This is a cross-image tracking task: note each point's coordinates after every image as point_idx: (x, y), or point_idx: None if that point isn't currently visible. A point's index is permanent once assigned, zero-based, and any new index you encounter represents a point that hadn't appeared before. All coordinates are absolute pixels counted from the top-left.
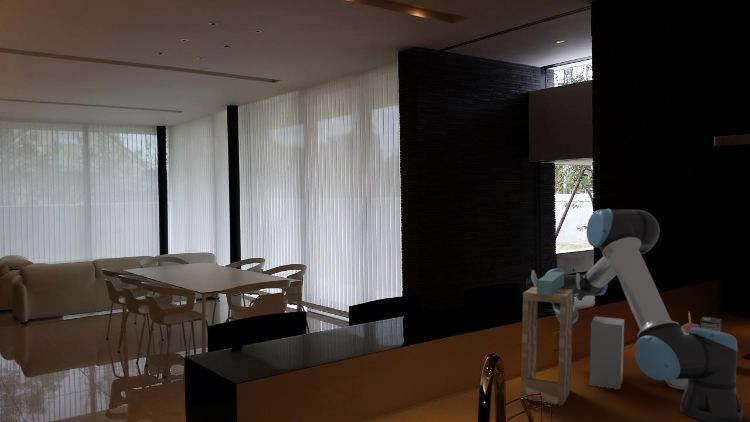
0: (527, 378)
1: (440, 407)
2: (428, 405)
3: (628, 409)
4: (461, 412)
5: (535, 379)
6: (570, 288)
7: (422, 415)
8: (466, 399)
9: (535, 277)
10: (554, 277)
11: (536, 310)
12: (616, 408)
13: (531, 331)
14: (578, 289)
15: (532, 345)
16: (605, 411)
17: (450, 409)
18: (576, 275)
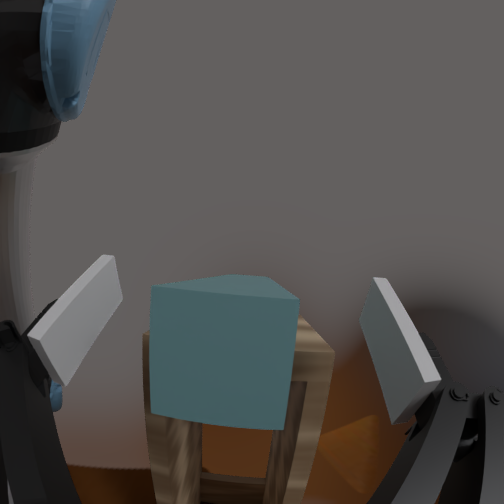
0: (264, 481)
1: (352, 441)
2: (366, 439)
3: (81, 483)
4: (323, 440)
5: (247, 481)
6: (56, 498)
7: (351, 423)
8: (344, 469)
9: (386, 340)
10: (230, 276)
11: (293, 432)
12: (100, 487)
13: (279, 435)
14: (48, 402)
15: (274, 476)
16: (124, 479)
17: (339, 441)
18: (116, 269)
